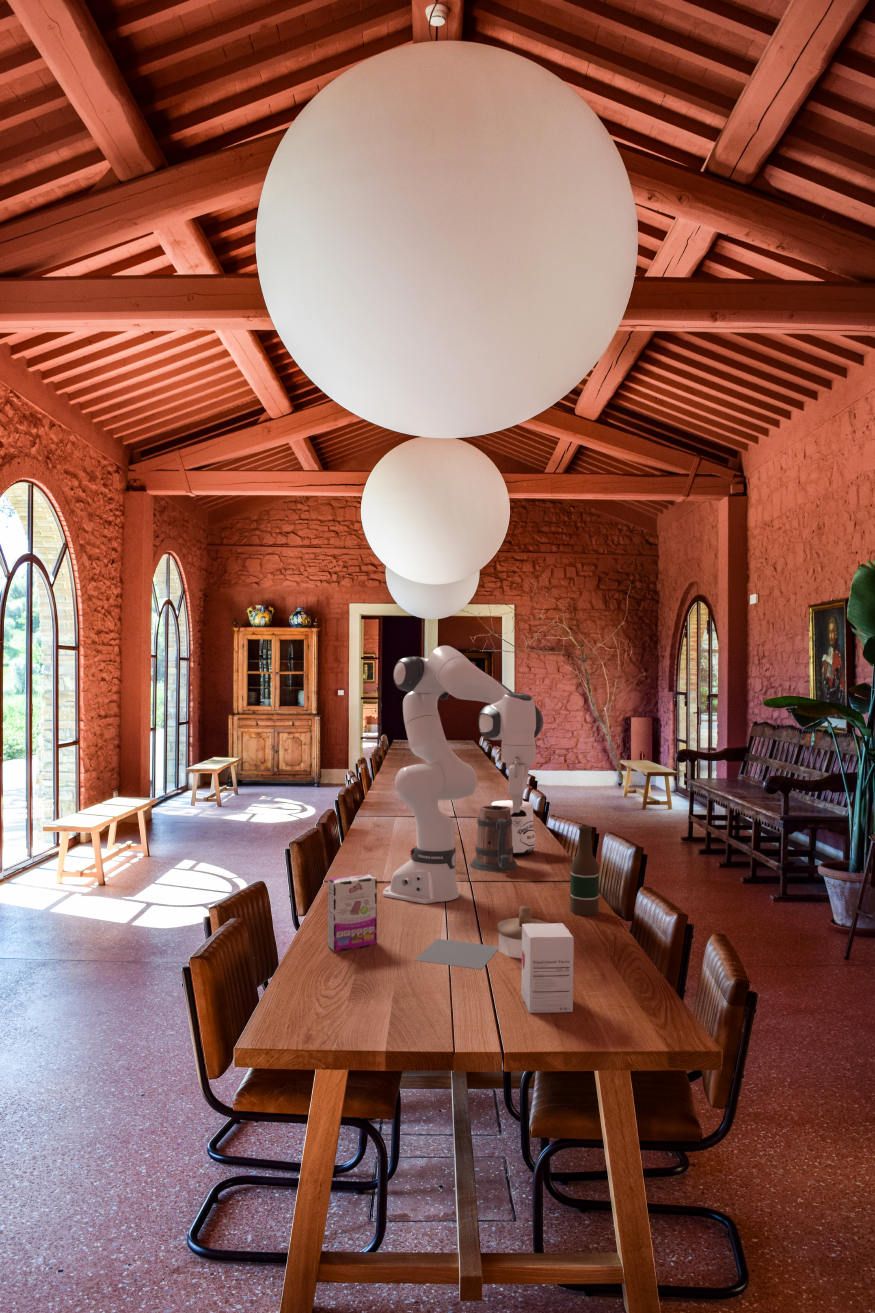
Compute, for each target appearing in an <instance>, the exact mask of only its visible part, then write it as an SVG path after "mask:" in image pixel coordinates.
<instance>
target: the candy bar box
mask: <svg viewBox="0 0 875 1313" xmlns="http://www.w3.org/2000/svg"><path fill="white" fill-rule="evenodd" d="M377 893H378V880H377V877H376V876H374V875H372V874H370V873H367V874H359V875H358V874H357V875H352V876H350V875H349V876H342V877H334V878H328V879H327V947H328V948H329V949H330V950H332V952H334V953H337V952H345V951H350V950H356V949H362V948H368V947H370V946H371V945H375V944H378V943H377V940H378V938H377V936H378V933H377V932H378V926H377V923H378V920H377V918H378V911H377V909H378V908H377V906H378V905H377V904H378V903H377V902H378V901H377V900H378V899H377V898H378V894H377Z"/></svg>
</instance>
